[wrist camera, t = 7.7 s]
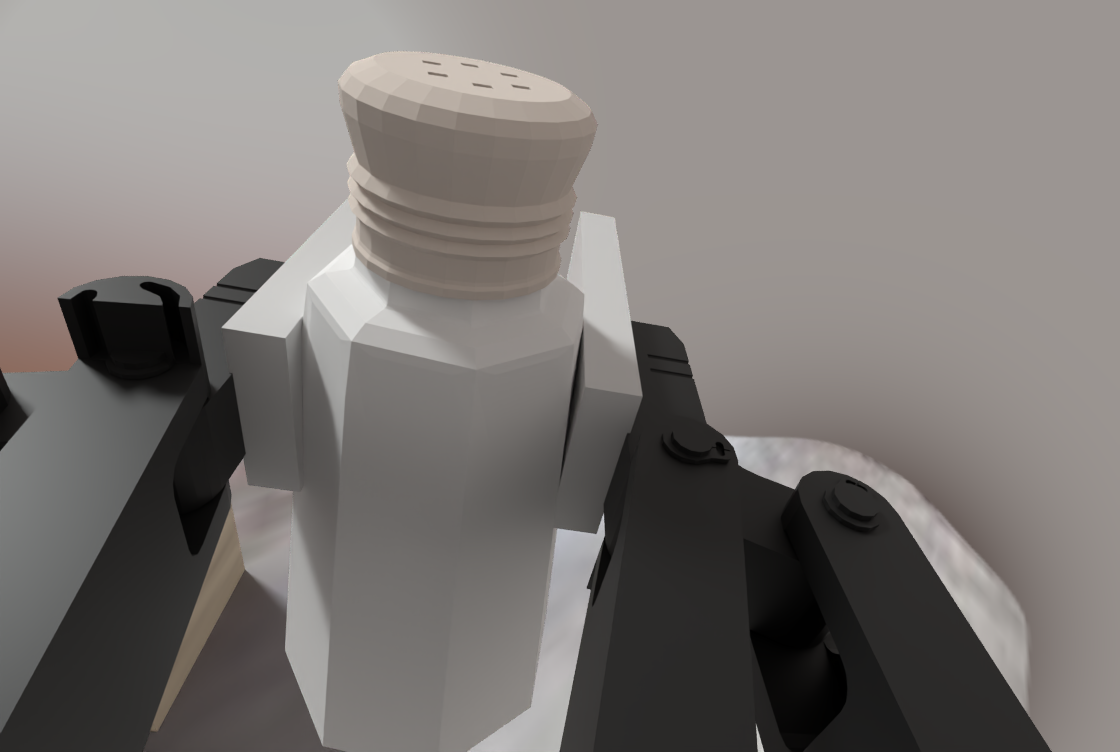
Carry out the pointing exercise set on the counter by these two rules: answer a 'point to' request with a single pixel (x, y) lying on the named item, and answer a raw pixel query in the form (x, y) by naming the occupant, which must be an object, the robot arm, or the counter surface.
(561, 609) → the counter surface
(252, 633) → the counter surface
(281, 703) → the counter surface
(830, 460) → the counter surface
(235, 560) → the tower bottom
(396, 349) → the salt shaker
